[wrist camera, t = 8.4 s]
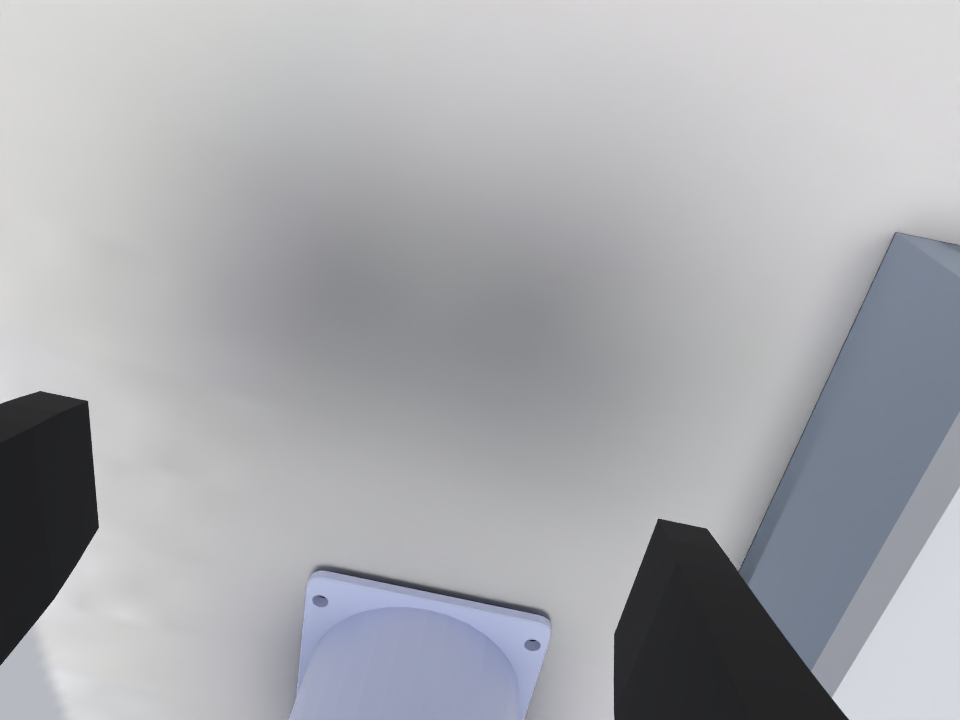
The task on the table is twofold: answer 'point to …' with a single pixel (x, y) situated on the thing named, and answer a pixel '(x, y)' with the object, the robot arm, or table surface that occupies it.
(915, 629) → the coin box
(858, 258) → the table surface
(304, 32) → the table surface
